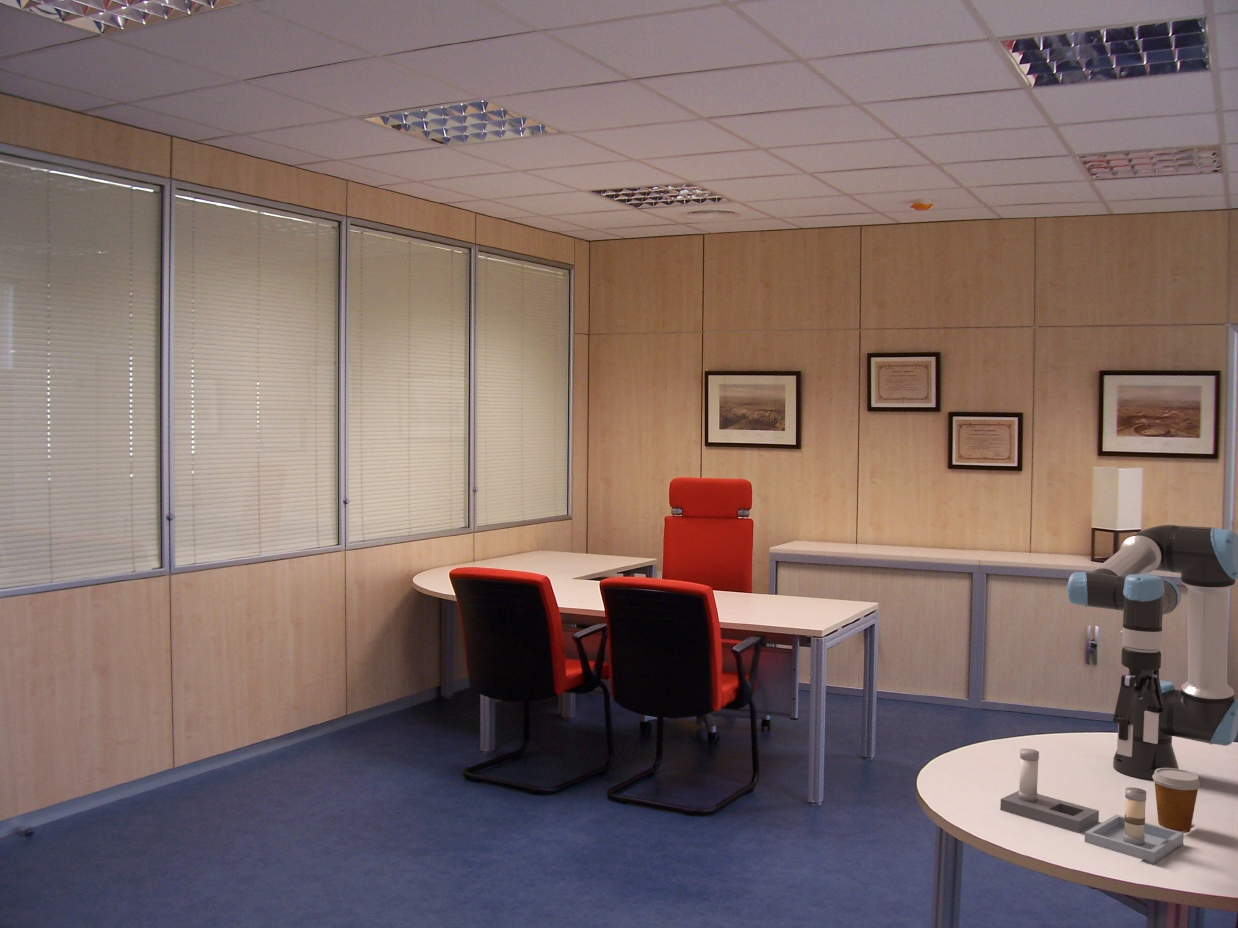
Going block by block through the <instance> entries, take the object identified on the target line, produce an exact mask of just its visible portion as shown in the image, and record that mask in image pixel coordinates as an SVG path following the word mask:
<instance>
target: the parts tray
mask: <svg viewBox="0 0 1238 928" xmlns="http://www.w3.org/2000/svg"><path fill="white" fill-rule="evenodd" d="M1124 829H1125V816H1123V815H1120V814H1114V815H1113V816H1111V817H1110V818H1108V819H1106V820H1105V821H1102V822H1101V823H1100V822H1099V824H1097V825H1094V826H1093V827H1092V828H1090V829H1088V830H1086V831H1084V843H1086V844H1090V845H1094V846H1098V847H1099V848H1104V849H1107V850H1110V851H1114V852H1116V853H1117V852H1118V853H1120V854H1124V855H1127V856H1131V857H1134V858H1136V859H1137V858H1138V859H1141V862H1143V863H1147V864H1150V865H1153V866H1154V865H1155V864H1157V863H1158V862H1159V861H1161V860H1163V859H1164V858H1166V857H1167V856H1169V855H1170V854H1172V853H1173V852H1175V851H1176V850H1177V849H1179V848H1181V847H1182V846H1184V832H1183V831H1176V830H1171V829H1167V828H1164V827H1162V826H1160V825H1155V824H1153V823H1148V822H1145V829H1144V835H1145V843H1144V845H1141V846H1137V845H1133V844H1129V843H1126V842H1124Z"/></svg>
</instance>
